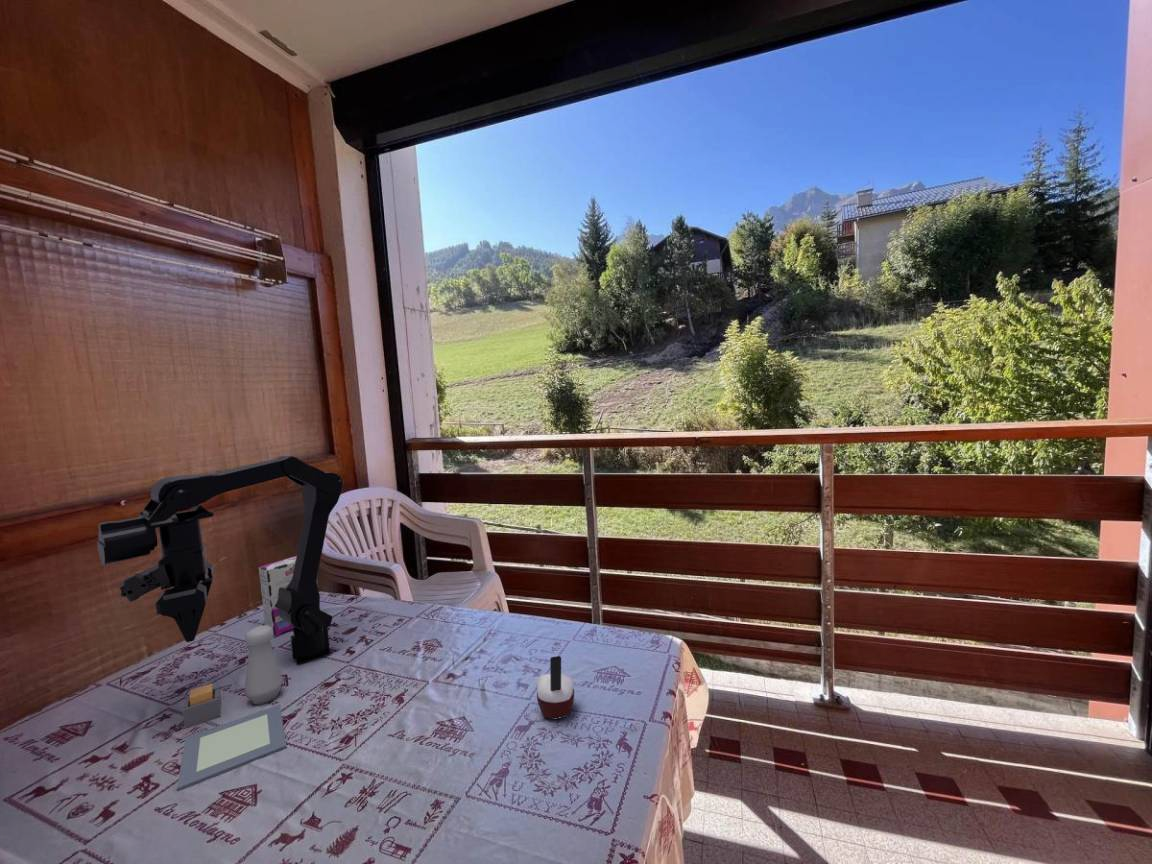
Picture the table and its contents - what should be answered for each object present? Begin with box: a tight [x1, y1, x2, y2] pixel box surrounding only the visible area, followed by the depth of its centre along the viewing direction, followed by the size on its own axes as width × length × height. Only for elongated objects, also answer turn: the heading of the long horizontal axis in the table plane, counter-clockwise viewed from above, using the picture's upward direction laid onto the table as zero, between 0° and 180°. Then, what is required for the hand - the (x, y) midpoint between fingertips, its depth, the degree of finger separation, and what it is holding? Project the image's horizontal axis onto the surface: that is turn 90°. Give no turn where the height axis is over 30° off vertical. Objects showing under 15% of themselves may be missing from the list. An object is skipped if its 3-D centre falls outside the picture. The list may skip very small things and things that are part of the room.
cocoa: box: [536, 655, 575, 719], centre depth 78 cm, size 10×6×12 cm, turn 167°
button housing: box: [182, 685, 222, 730], centre depth 82 cm, size 5×5×3 cm
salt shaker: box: [244, 625, 284, 705], centre depth 86 cm, size 6×6×13 cm
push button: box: [189, 683, 214, 706], centre depth 82 cm, size 3×3×3 cm
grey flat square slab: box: [176, 704, 287, 791], centre depth 75 cm, size 13×13×1 cm
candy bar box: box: [258, 555, 319, 638], centre depth 116 cm, size 11×5×16 cm, turn 147°
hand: (193, 631), depth 86 cm, fingers open, 9 cm apart
